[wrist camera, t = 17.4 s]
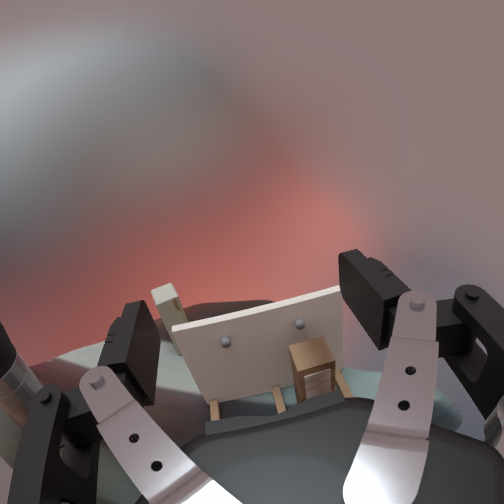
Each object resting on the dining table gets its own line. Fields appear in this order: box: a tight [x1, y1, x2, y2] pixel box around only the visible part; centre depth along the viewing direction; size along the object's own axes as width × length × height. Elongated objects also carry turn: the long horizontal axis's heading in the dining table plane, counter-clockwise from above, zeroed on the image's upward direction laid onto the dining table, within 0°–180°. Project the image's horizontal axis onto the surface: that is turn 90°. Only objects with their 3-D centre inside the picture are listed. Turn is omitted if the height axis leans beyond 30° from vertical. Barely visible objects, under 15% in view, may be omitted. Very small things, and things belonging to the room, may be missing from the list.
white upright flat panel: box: [172, 285, 353, 421], centre depth 37 cm, size 22×9×16 cm, turn 98°
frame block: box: [288, 336, 335, 404], centre depth 37 cm, size 4×5×12 cm
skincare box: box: [151, 283, 188, 355], centre depth 55 cm, size 6×4×12 cm
